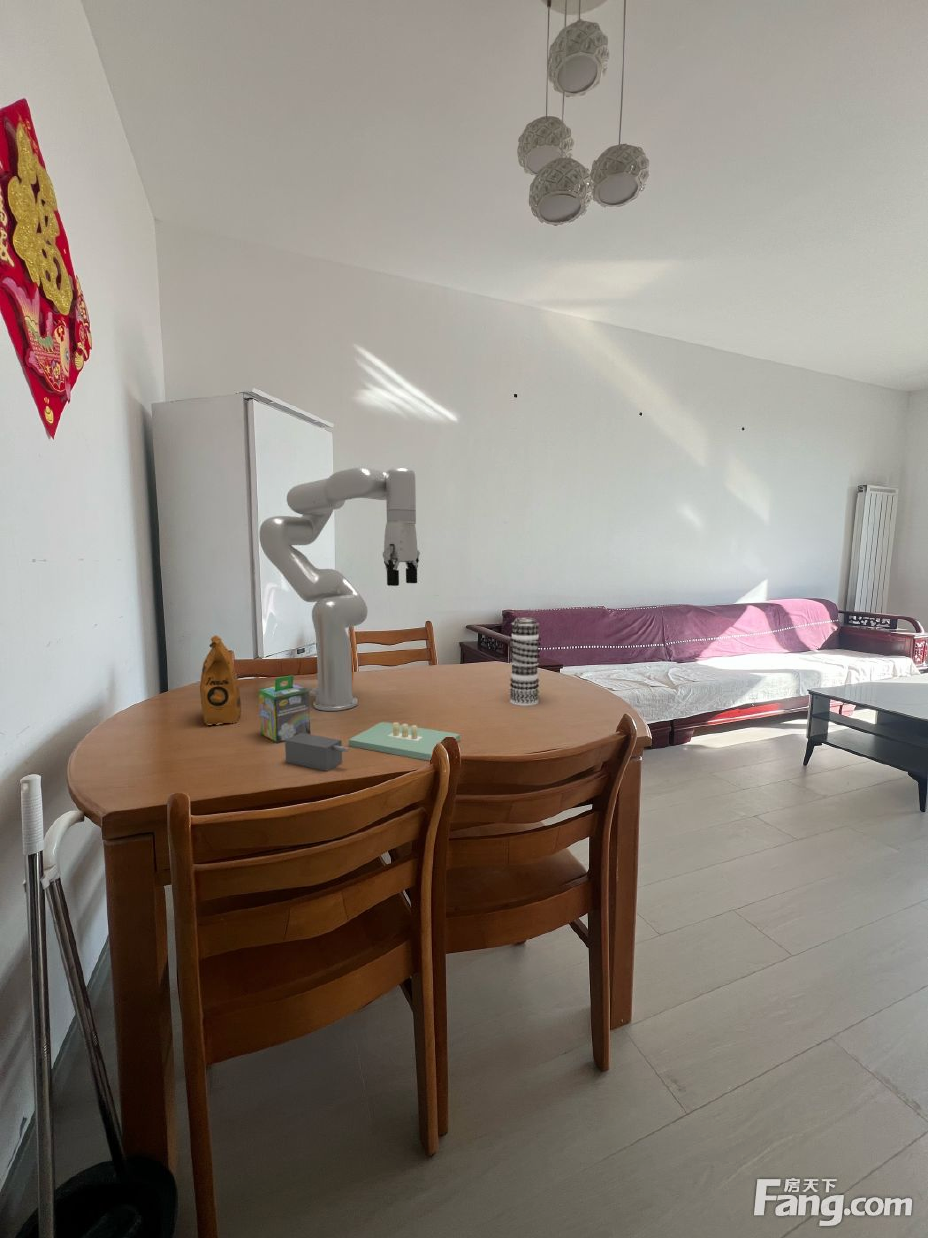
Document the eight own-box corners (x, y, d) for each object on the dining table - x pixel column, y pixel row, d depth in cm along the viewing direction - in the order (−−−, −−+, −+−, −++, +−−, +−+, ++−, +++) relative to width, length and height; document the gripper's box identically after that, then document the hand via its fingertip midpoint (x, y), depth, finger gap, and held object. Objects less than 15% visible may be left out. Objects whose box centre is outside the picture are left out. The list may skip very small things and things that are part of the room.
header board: (348, 745, 126) (348, 727, 125) (382, 727, 138) (381, 710, 138) (432, 761, 117) (432, 741, 116) (459, 740, 129) (459, 722, 129)
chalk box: (294, 725, 140) (291, 669, 138) (311, 734, 133) (309, 675, 131) (259, 734, 134) (256, 675, 131) (276, 744, 127) (273, 682, 125)
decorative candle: (541, 706, 156) (543, 620, 153) (509, 706, 157) (510, 620, 153) (537, 697, 166) (539, 616, 162) (507, 697, 166) (508, 616, 162)
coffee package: (198, 728, 138) (192, 643, 135) (203, 714, 149) (198, 635, 146) (240, 724, 141) (235, 641, 138) (242, 710, 153) (238, 633, 150)
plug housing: (286, 762, 116) (284, 740, 116) (301, 754, 121) (301, 732, 120) (341, 774, 110) (340, 750, 110) (355, 765, 115) (355, 742, 114)
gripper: (405, 519, 149) (406, 582, 151) (370, 516, 133) (372, 586, 135) (429, 519, 146) (430, 582, 148) (397, 516, 130) (398, 587, 132)
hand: (402, 584), depth 142 cm, fingers open, 9 cm apart
